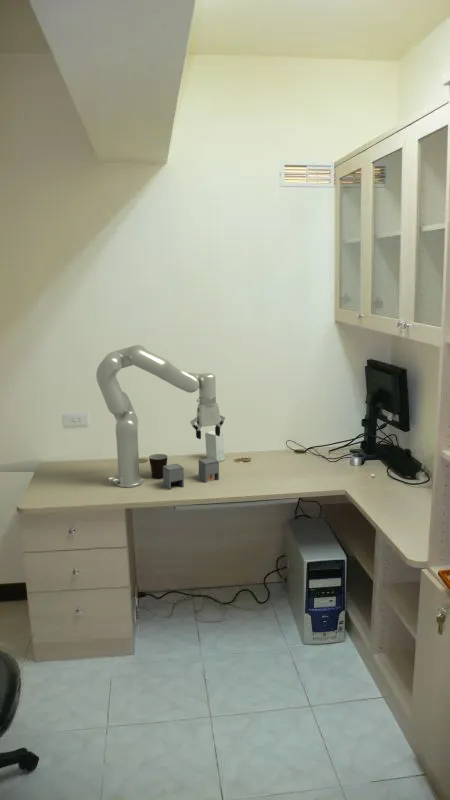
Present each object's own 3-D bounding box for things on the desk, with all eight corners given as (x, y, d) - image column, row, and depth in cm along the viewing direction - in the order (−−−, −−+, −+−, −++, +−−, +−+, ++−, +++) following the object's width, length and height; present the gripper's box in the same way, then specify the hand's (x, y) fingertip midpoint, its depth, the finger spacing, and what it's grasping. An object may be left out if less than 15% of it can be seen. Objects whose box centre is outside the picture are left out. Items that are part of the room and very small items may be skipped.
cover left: (169, 489, 258) (169, 470, 256) (163, 484, 264) (162, 466, 262) (183, 486, 261) (183, 467, 259) (177, 482, 267) (177, 463, 265)
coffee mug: (164, 480, 270) (164, 459, 268) (147, 479, 272) (146, 458, 270) (172, 472, 281) (171, 452, 279) (155, 471, 283) (154, 451, 281)
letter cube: (207, 481, 268) (207, 473, 268) (203, 478, 272) (203, 470, 271) (214, 479, 270) (214, 471, 269) (210, 477, 274) (210, 469, 273)
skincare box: (224, 460, 298) (224, 432, 295) (216, 463, 294) (215, 434, 291) (213, 457, 304) (213, 429, 301) (205, 459, 300) (204, 431, 297)
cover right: (205, 482, 266) (205, 463, 265) (198, 478, 272) (198, 459, 271) (219, 479, 270) (218, 461, 268) (212, 475, 276) (211, 457, 274)
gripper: (194, 404, 256) (194, 441, 260) (228, 399, 264) (228, 436, 268) (186, 401, 263) (187, 437, 266) (220, 397, 271) (220, 432, 274)
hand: (208, 436), depth 267 cm, fingers open, 9 cm apart
